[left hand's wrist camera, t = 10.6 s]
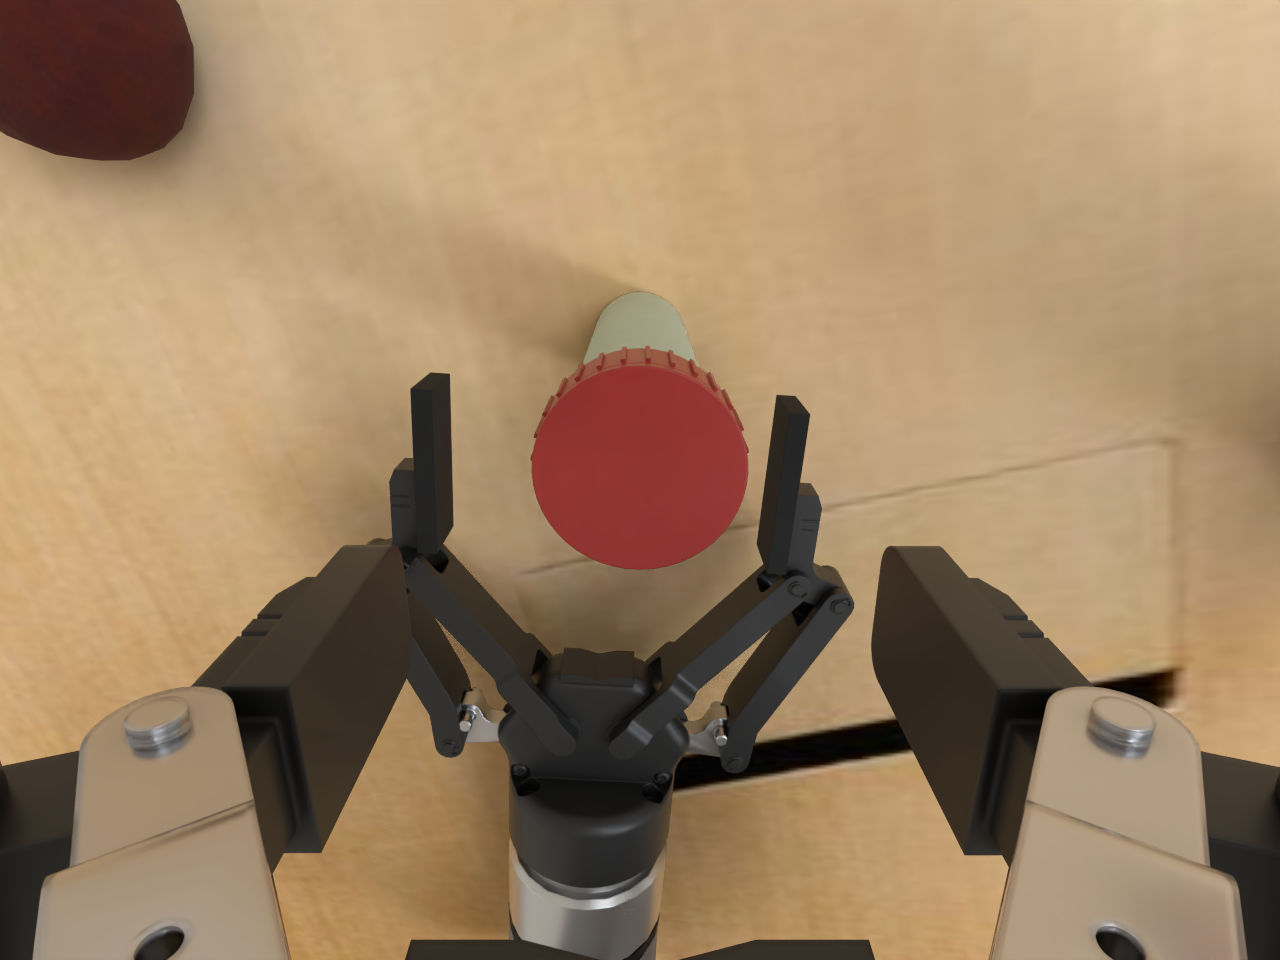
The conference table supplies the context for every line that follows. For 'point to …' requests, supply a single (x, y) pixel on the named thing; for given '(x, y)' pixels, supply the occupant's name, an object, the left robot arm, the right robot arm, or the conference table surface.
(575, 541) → the lid
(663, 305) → the pale green bottle
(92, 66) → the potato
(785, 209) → the conference table surface
